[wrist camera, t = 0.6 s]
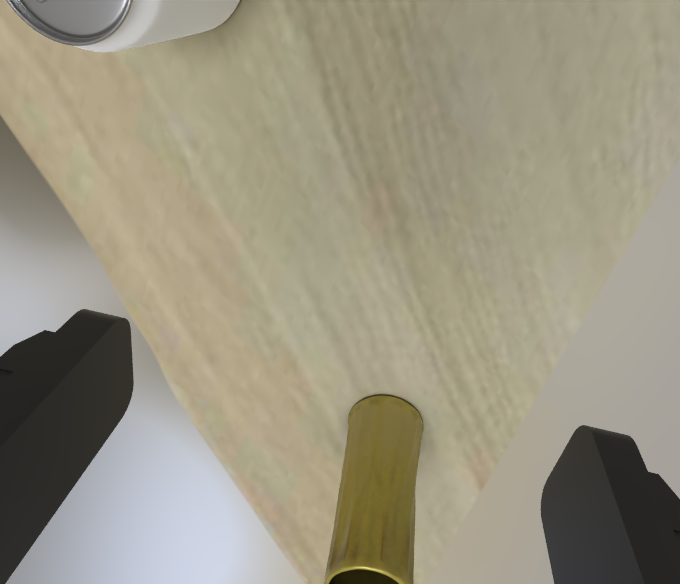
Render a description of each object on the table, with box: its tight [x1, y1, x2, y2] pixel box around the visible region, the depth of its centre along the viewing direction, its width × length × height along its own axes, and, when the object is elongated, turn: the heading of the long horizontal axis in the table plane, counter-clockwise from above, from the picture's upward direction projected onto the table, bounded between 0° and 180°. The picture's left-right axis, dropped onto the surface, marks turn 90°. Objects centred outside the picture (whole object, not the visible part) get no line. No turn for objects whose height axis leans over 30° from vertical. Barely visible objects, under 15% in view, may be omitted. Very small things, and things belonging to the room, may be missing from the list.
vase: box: [325, 395, 423, 584], centre depth 37 cm, size 6×6×14 cm
